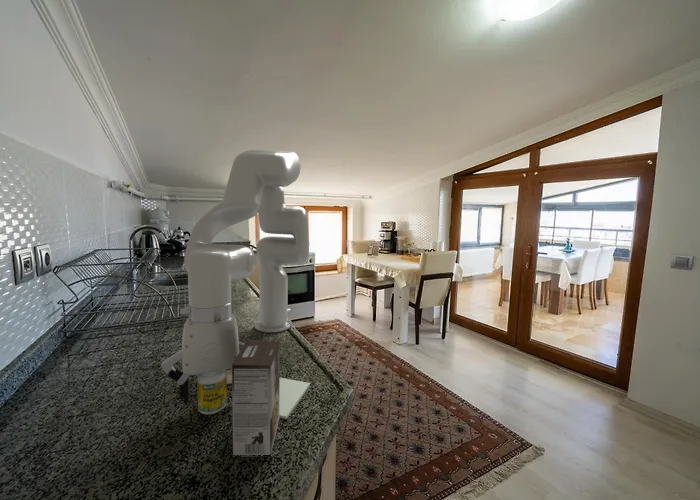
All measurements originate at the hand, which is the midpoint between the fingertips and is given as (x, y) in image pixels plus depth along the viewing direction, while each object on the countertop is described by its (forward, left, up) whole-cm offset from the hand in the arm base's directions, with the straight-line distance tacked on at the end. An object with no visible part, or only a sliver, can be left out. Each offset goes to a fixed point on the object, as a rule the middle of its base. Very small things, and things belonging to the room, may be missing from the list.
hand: (212, 394), depth 60 cm
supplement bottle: (0, 0, -3) cm, 3 cm away
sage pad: (-7, +10, -3) cm, 13 cm away
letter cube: (-9, -5, -3) cm, 11 cm away
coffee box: (+4, +13, -3) cm, 14 cm away
